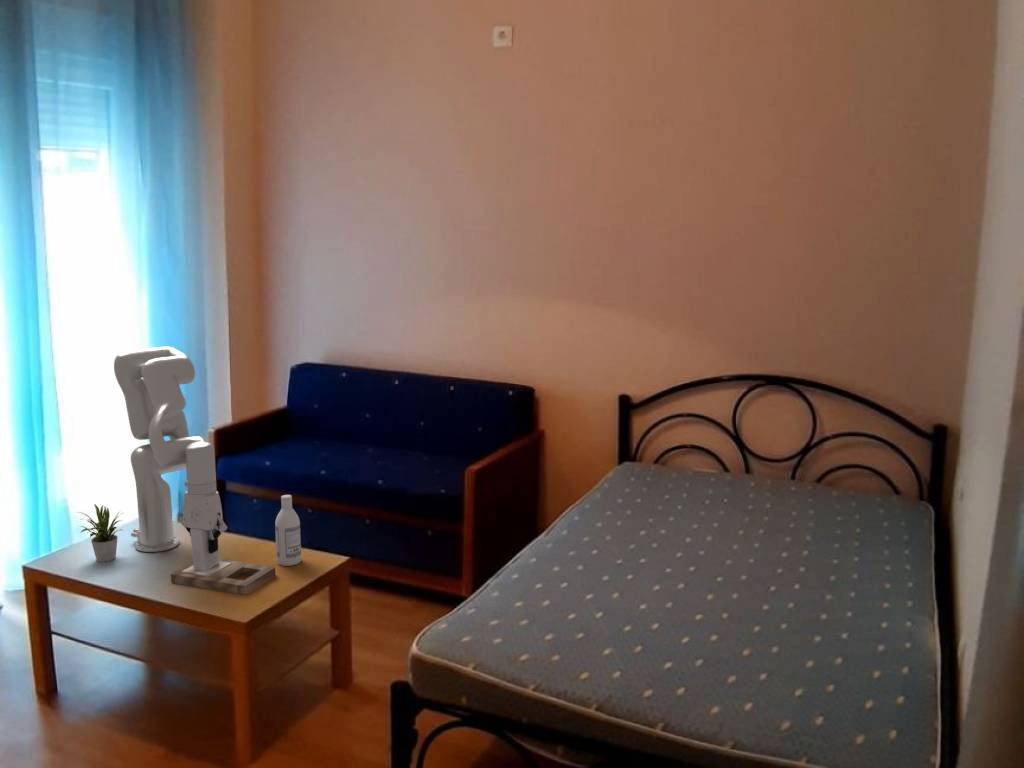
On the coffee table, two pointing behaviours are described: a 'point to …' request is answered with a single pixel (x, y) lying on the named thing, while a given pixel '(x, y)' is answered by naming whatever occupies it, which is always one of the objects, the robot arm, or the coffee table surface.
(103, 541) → the house plant
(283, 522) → the bath foam
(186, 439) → the robot arm
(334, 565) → the coffee table surface
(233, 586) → the walnut frame
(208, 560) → the skincare box
